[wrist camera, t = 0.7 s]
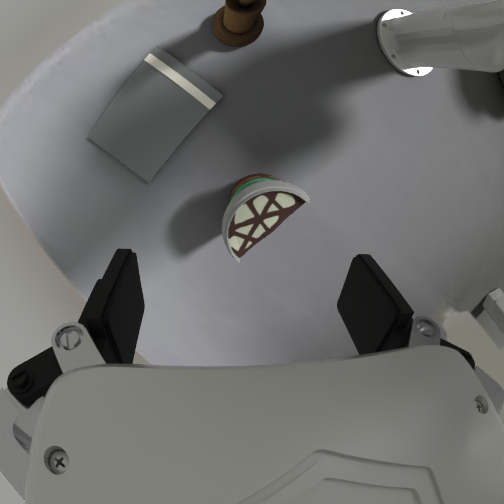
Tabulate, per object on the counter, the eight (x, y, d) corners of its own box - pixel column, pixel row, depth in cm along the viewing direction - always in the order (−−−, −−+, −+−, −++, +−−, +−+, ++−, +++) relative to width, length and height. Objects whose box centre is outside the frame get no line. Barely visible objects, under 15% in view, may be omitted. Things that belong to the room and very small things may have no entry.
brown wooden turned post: (202, 31, 27) (195, -21, 12) (231, 0, 25) (247, -64, 9) (242, 54, 29) (268, 17, 14) (270, 23, 27) (315, -26, 12)
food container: (264, 147, 37) (280, 163, 28) (291, 177, 40) (313, 201, 31) (202, 204, 40) (200, 235, 32) (231, 230, 43) (236, 266, 35)
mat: (158, 46, 27) (157, 45, 26) (223, 96, 32) (223, 95, 31) (89, 136, 32) (87, 137, 31) (149, 181, 37) (148, 183, 36)
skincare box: (498, 286, 67) (523, 313, 54) (492, 301, 71) (515, 327, 58) (487, 293, 67) (512, 321, 54) (480, 308, 71) (503, 336, 57)
